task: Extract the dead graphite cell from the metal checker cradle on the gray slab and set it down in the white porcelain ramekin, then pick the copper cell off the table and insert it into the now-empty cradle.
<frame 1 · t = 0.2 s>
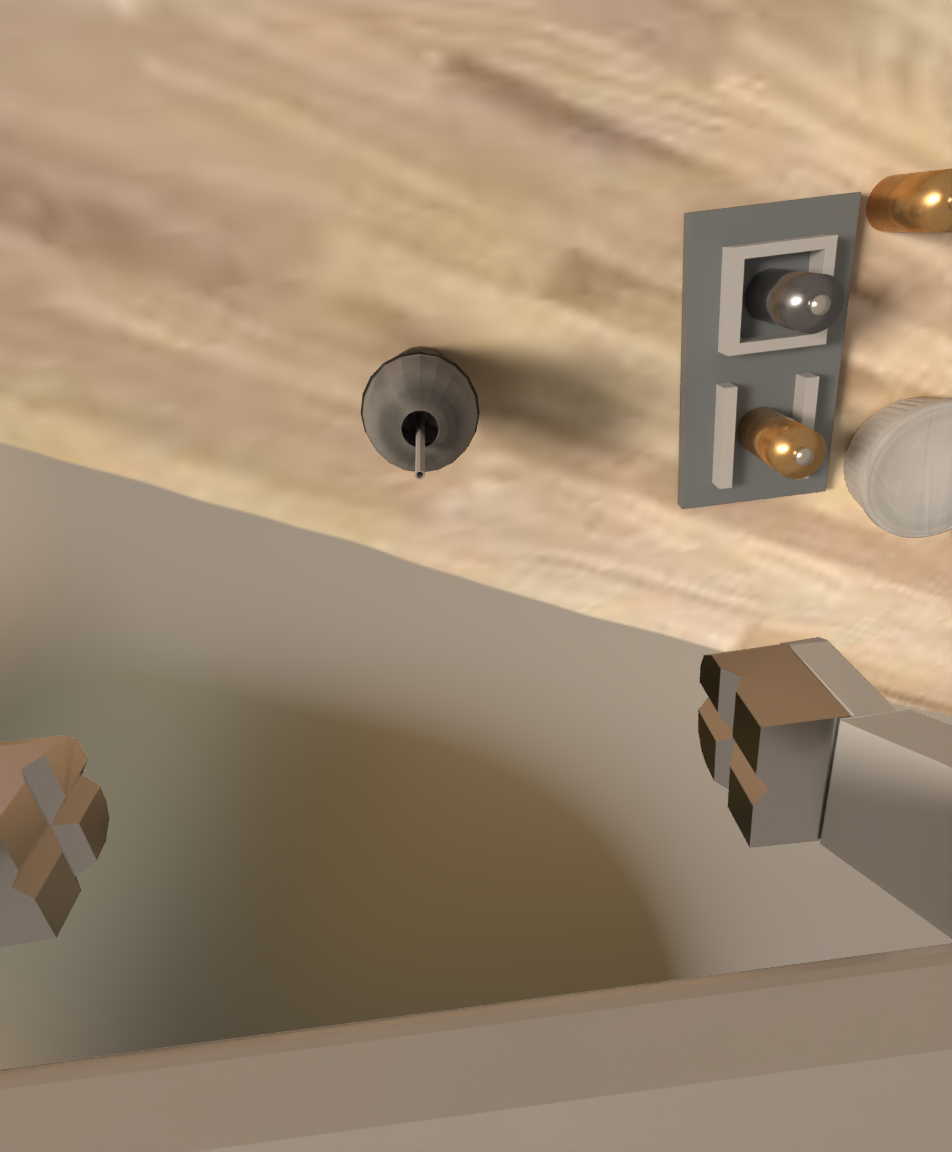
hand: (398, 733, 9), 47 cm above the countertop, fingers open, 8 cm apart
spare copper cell: (759, 429, 56), point 1 cm above the countertop, touching gray slab
copper cell: (891, 203, 50), on the countertop
gray slab: (757, 362, 55), on the countertop
ramekin: (894, 452, 59), on the countertop
graphite cell: (768, 294, 51), point 1 cm above the countertop, touching gray slab
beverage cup: (421, 376, 54), on the countertop
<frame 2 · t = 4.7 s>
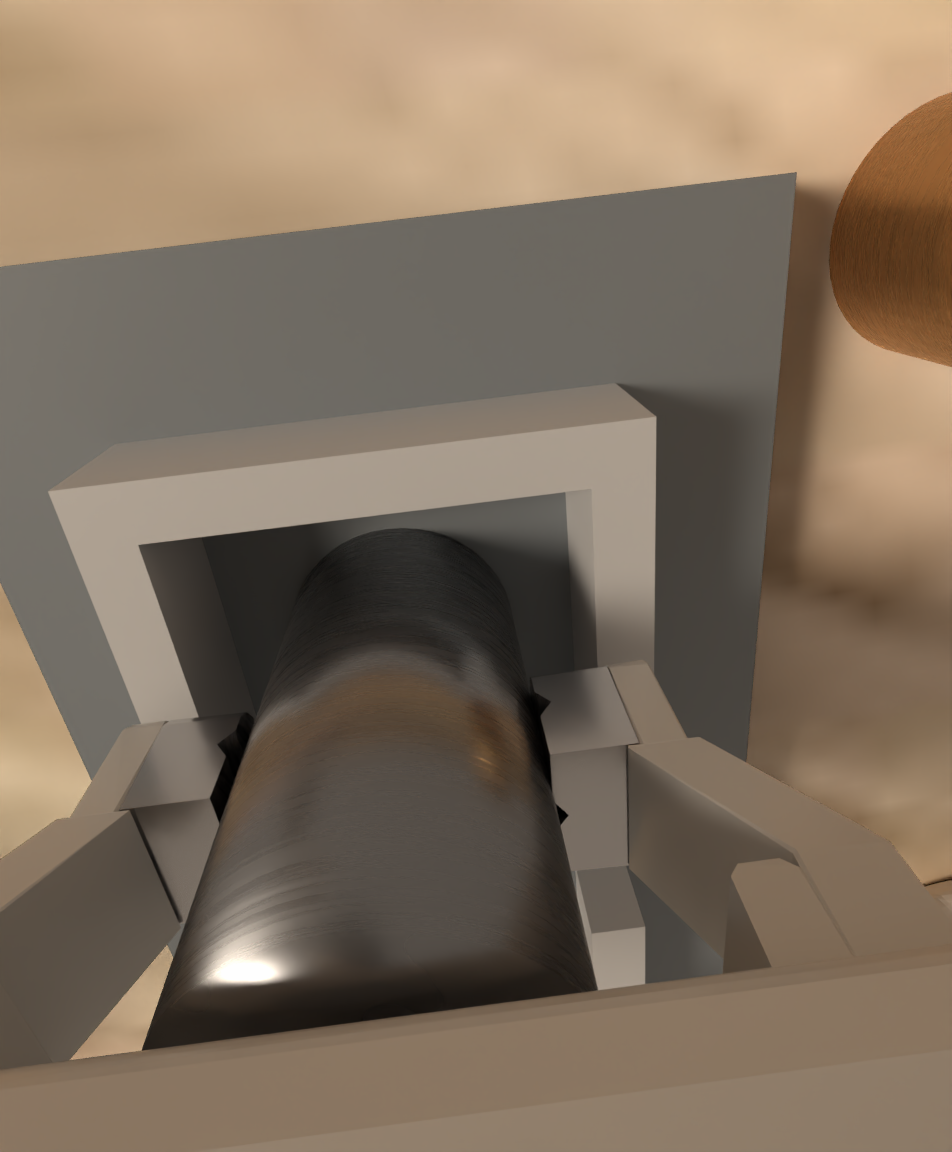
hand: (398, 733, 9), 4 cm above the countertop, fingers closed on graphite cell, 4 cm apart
copper cell: (947, 230, 11), on the countertop
gray slab: (441, 800, 15), on the countertop
ramekin: (931, 976, 19), on the countertop
graphite cell: (404, 628, 12), point 1 cm above the countertop, touching gray slab, gripper
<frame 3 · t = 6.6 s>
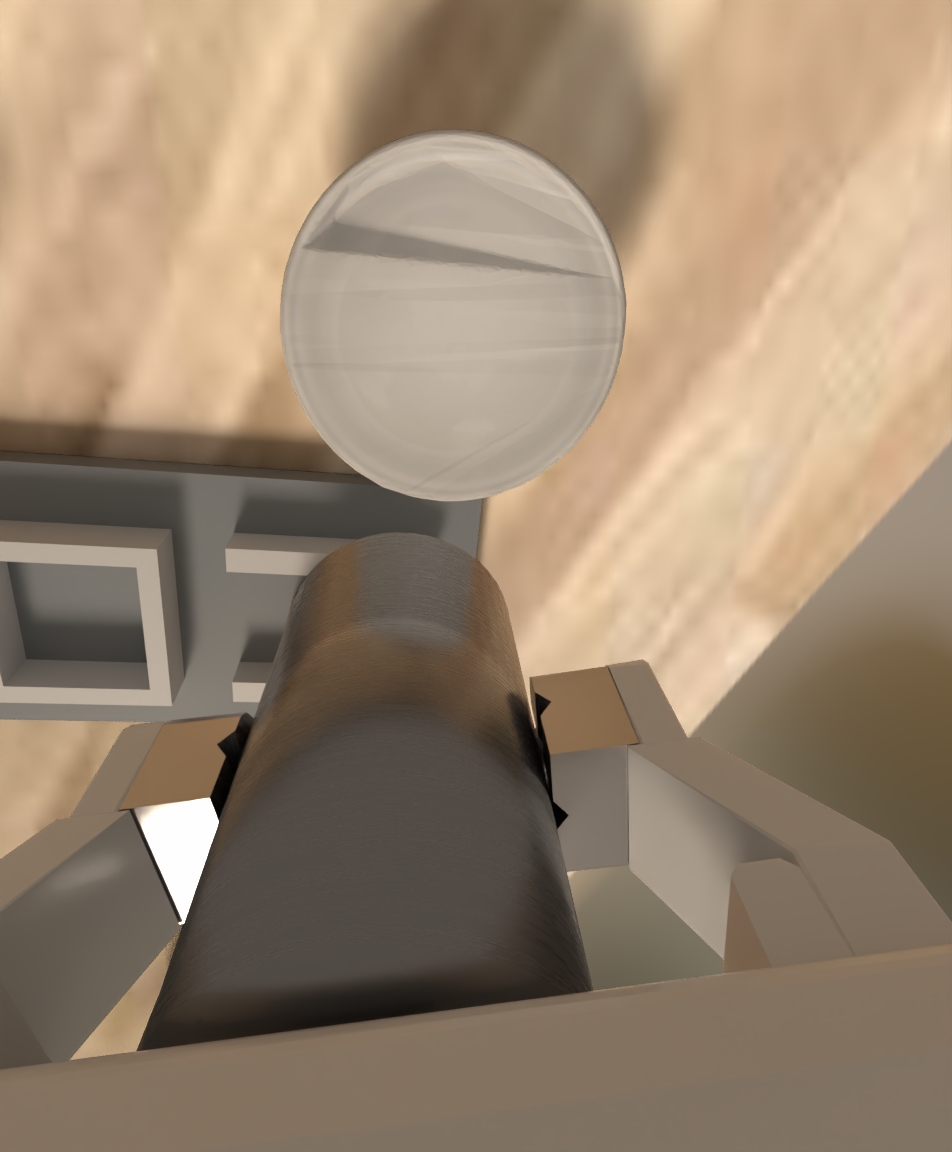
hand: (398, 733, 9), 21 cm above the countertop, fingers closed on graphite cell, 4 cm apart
gray slab: (218, 596, 31), on the countertop
ramekin: (446, 316, 27), on the countertop
graphite cell: (401, 632, 12), point 18 cm above the countertop, touching gripper
when the fingers open (8 cm above the countertop, at t = 8.9 s): graphite cell stays where it is, resting on ramekin.
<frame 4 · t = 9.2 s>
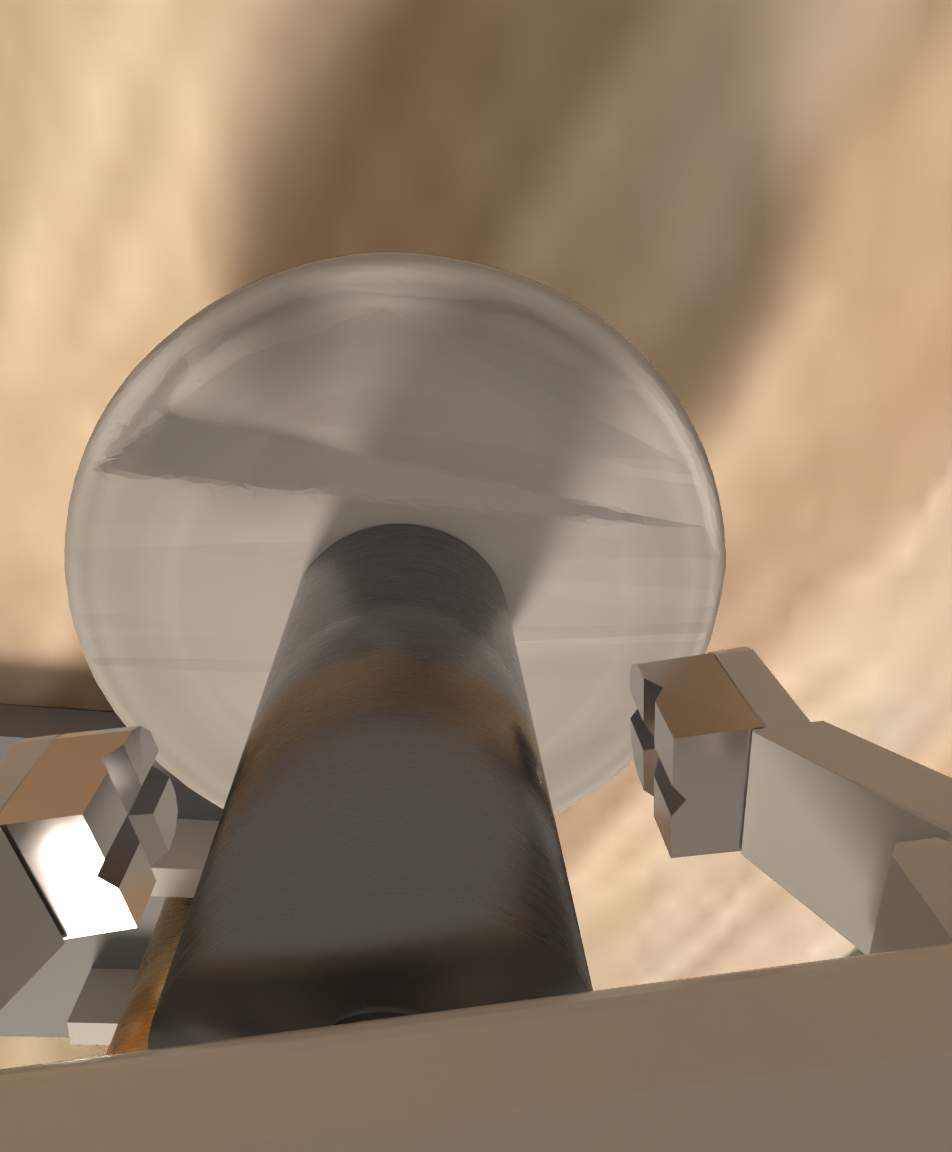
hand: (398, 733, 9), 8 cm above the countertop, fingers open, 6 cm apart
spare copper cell: (228, 913, 20), point 1 cm above the countertop, touching gray slab
gray slab: (64, 871, 21), on the countertop
ramekin: (411, 504, 17), on the countertop, touching graphite cell
graphite cell: (401, 622, 12), point 5 cm above the countertop, touching ramekin
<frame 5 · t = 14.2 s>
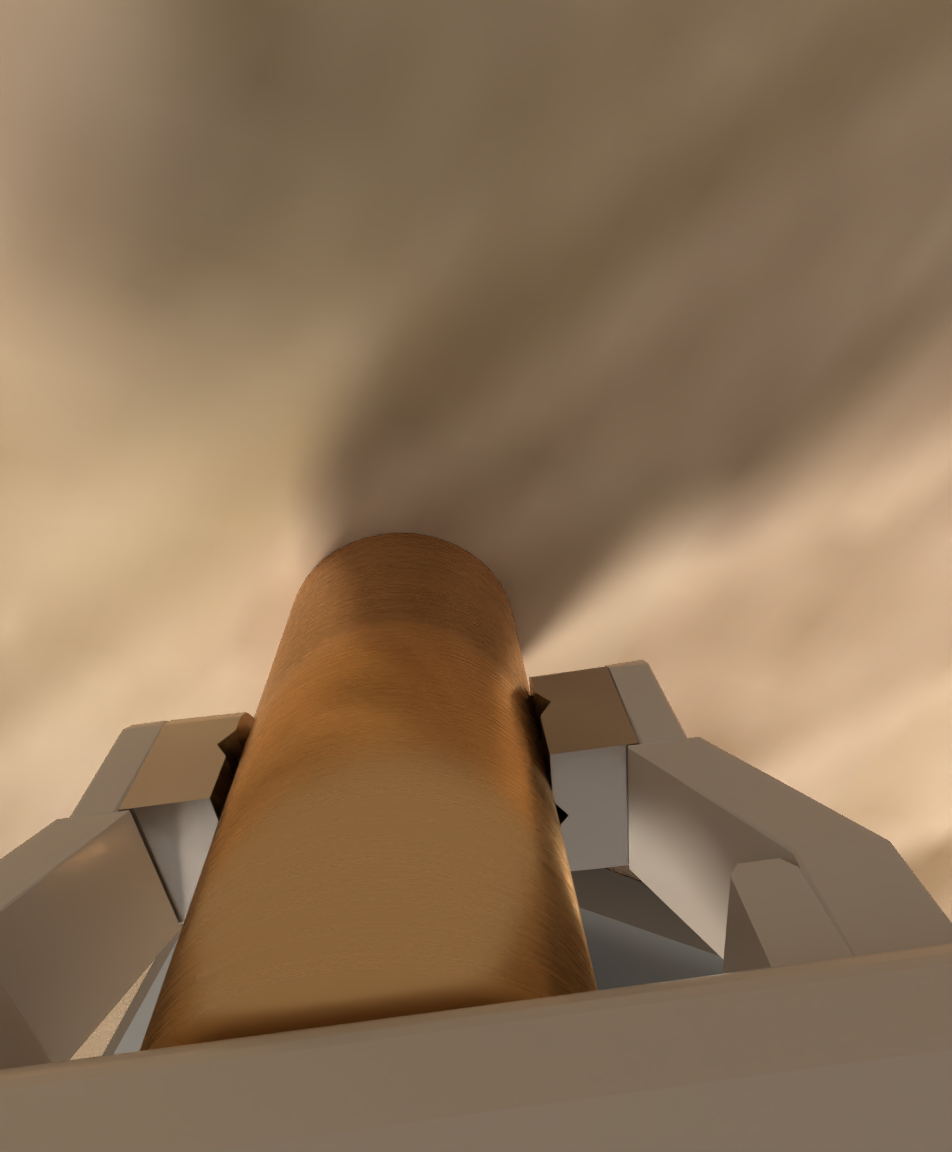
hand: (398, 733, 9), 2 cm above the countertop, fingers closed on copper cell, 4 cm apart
copper cell: (403, 635, 11), on the countertop, touching gripper
gray slab: (601, 1074, 17), on the countertop
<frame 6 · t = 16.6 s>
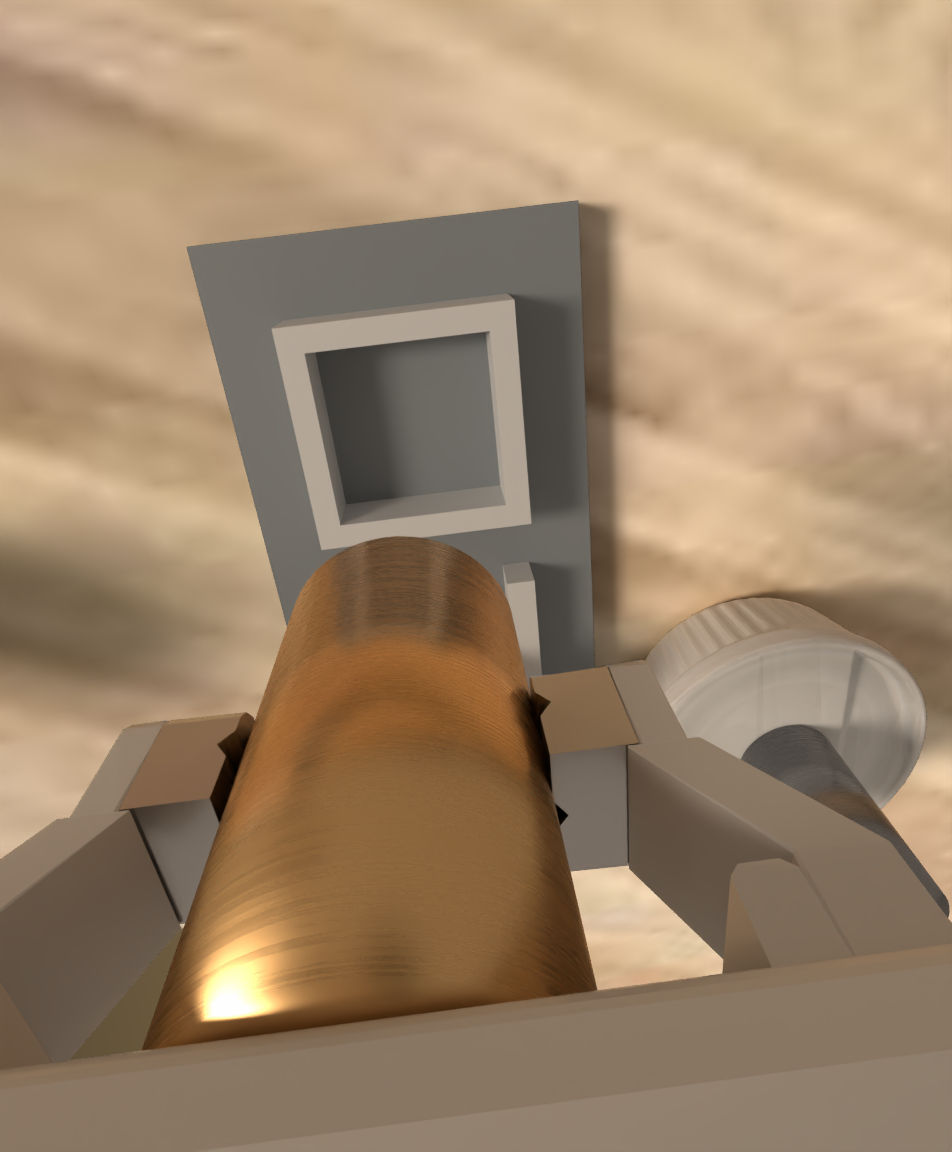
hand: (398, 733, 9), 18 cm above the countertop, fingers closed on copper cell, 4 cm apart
copper cell: (403, 638, 11), point 16 cm above the countertop, touching gripper
gray slab: (431, 537, 28), on the countertop
ramekin: (730, 680, 32), on the countertop, touching graphite cell
graphite cell: (785, 763, 27), point 5 cm above the countertop, touching ramekin
when the fingers open (5 cm above the countertop, at t = 19.2 s): copper cell stays where it is, resting on gray slab.
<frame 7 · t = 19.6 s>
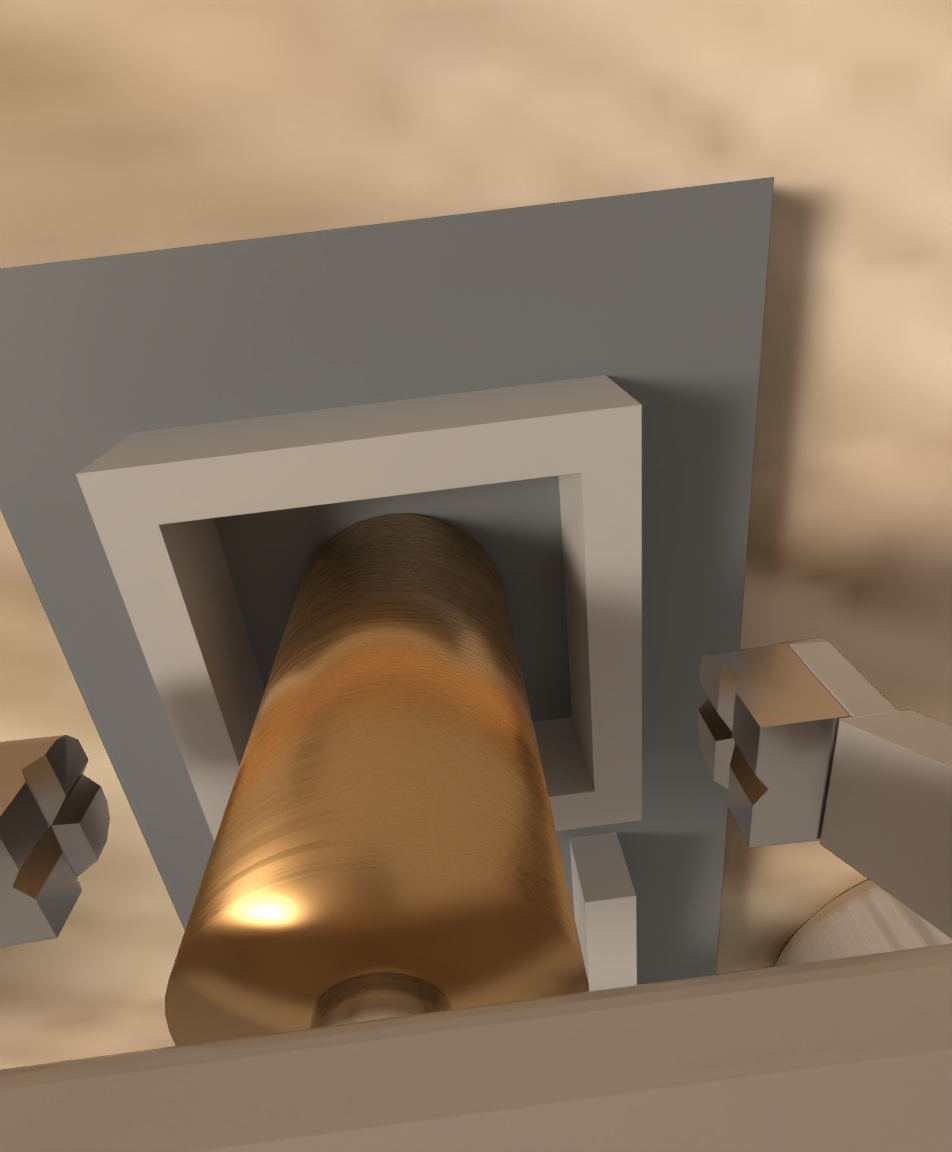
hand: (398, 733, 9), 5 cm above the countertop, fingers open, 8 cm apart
copper cell: (403, 609, 12), point 1 cm above the countertop, touching gray slab
gray slab: (441, 778, 16), on the countertop
ramekin: (916, 954, 20), on the countertop, touching graphite cell
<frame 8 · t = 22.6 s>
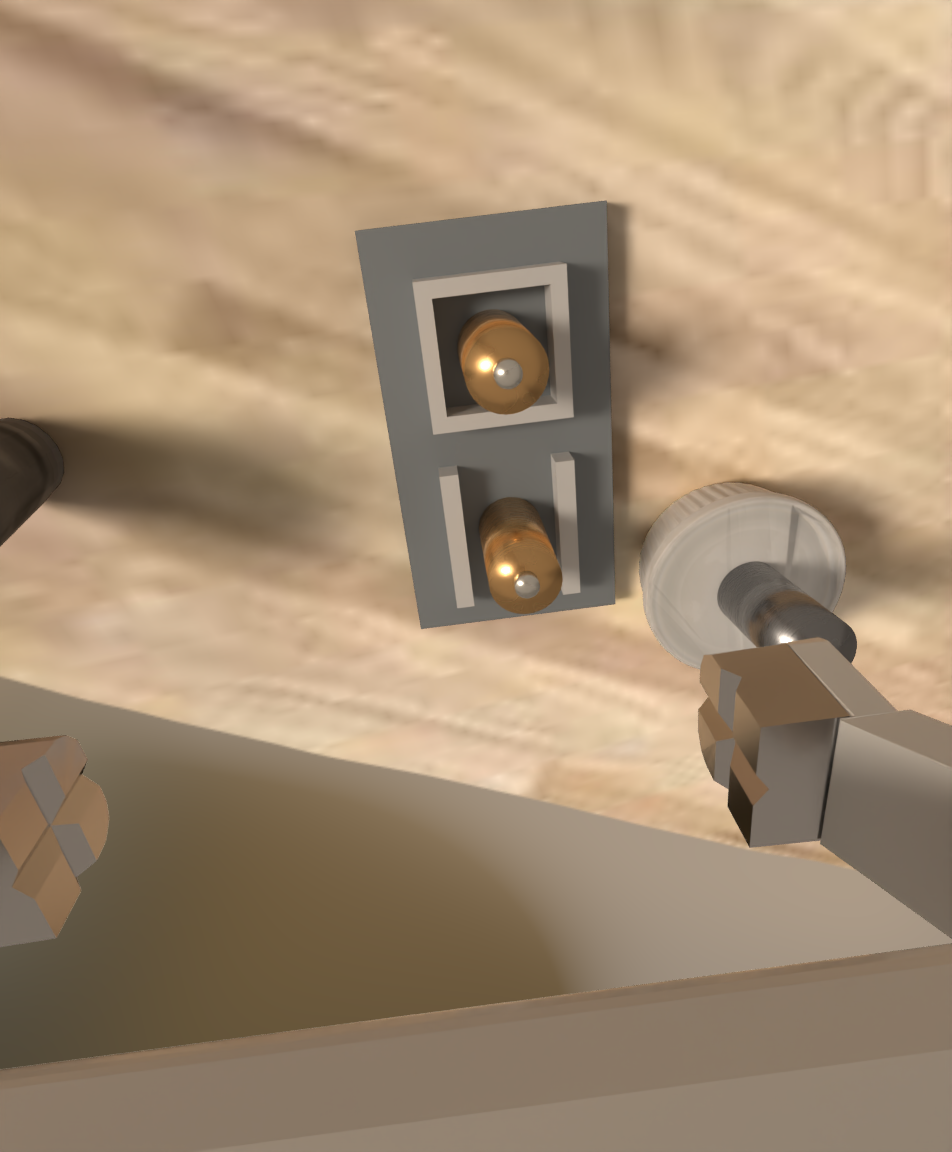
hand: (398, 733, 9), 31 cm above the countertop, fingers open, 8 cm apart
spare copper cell: (509, 526, 41), point 1 cm above the countertop, touching gray slab
copper cell: (492, 346, 36), point 1 cm above the countertop, touching gray slab
gray slab: (499, 436, 39), on the countertop
ramekin: (711, 551, 44), on the countertop, touching graphite cell
graphite cell: (748, 592, 39), point 5 cm above the countertop, touching ramekin
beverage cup: (21, 458, 38), on the countertop
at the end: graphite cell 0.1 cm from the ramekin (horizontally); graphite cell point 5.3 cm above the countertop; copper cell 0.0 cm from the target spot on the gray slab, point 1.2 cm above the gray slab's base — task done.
